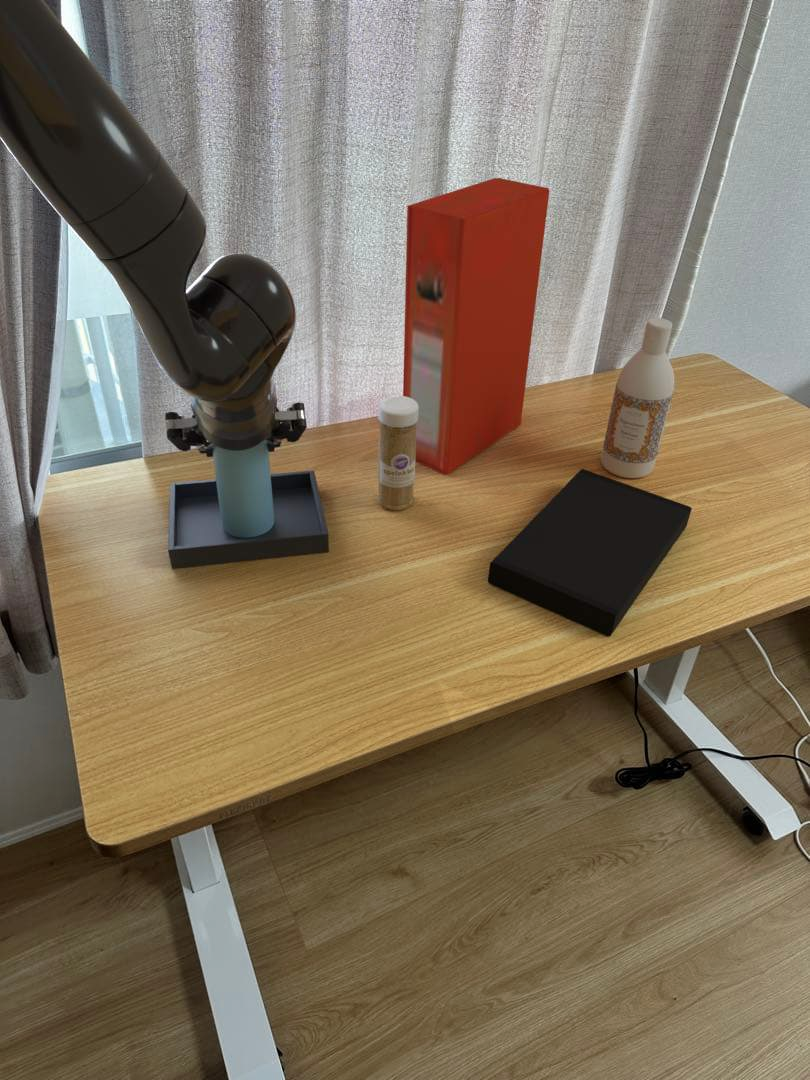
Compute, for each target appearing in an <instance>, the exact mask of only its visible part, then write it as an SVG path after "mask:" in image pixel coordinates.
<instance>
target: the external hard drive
mask: <svg viewBox="0 0 810 1080" xmlns="http://www.w3.org/2000/svg"><path fill="white" fill-rule="evenodd" d="M692 510H693V509H692V507H691V506H689V505H686V504H684V503H681V502H678V501H675V500H673V499H669V498H667V497H664V496H661V495H659V494H655V493H653V492H649V491H647V490H644V489H641V488H639V487H636V486H633V485H630V484H628V483H624V482H621V481H619V480H616V479H613V478H610V477H608V476H605V475H602V474H599V473H596V472H593V471H591V470H588V469H585V468H581V469H579V471H578V472H577V473H575V475H573V477H572V478H571V479H570V480H569V481H568V482H567V483H566V484H565V485H564V486H563V487H562V488H561V489H560V490H559V491H558V492H557V493H556V494H555V496H553V498H552V499H550V501H548V502H547V504H546V505H545V506H543V508H542V509H541V510H540V511H539V512H538V513H537V514H536V515H535V516H534V517H533V518H532V519H531V520H530V521H529V522H528V523H527V525H525V526H524V527H523V528H522V529H521V530H520V531H519V533H517V534H516V536H515V537H513V539H512V540H511V541H510V542H508V544H507V545H506V546H504V548H502V550H501V551H500V552H499V553H498V554H497V555H496V556H495V557H494V558H493V559H492V560H491V561H490V562H489V568H488V575H487V576H488V577H487V583H488V584H489V585H490V586H491V585H492V586H494V587H496V588H498V589H500V590H503V591H504V592H507V593H509V594H511V595H514V596H515V597H518V598H520V599H523V600H525V601H527V602H530V603H531V604H534V605H537V606H539V607H541V608H543V609H545V610H548V611H550V612H552V613H554V614H556V615H559V616H560V617H563V618H566V619H567V620H570V621H572V622H574V623H577V624H579V625H581V626H583V627H586V628H588V629H590V630H593V631H594V632H597V633H598V634H601V635H603V636H606V637H608V638H609V637H611V636H612V635H613V633H614V632H615V631H616V629H617V628H618V626H619V624H621V622H622V621H623V619H624V617H625V616H626V615H627V613H628V612H629V610H630V609H631V607H632V606H633V604H634V603H635V602H636V601H637V598H638V597H639V596H640V595H641V593H642V591H643V590H644V588H645V587H646V586H647V584H648V583H649V582H650V580H651V579H652V577H653V575H654V574H655V573H656V571H657V570H658V568H659V567H660V566H661V564H662V562H663V561H664V559H665V558H666V557H667V555H669V552H670V551H671V549H672V548H673V547H674V545H675V544H676V542H677V541H678V540H679V538H680V536H681V535H682V534H683V532H684V531H685V529H686V528H687V526H688V523H689V519H690V516H691V513H692Z"/></svg>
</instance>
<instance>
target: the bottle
mask: <svg viewBox="0 0 810 1080" xmlns="http://www.w3.org/2000/svg"><path fill="white" fill-rule="evenodd" d="M212 453H213V457H212V460H213V467H214V476H215V479H216V483H217V491H218V499H219V506H220V514H221V521H222V527H223V529H224V530H225V531H226V532H227V533H228V534H230V535H232V536H235V537H241V538H250V537H256V536H259V535H262V534H264V533H266V532H267V531H269V530H270V529H271V528H272V526H273V524H274V510H273V498H272V486H271V474H272V473H271V463H270V452H269V451H268V444H265V445H261V444H258V445H256V446H255V447H252V448H250V449H247V450H241V451H232V450H226V449H223V448H220V447H219V448H217V449H213V448H212Z"/></svg>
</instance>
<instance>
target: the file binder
mask: <svg viewBox="0 0 810 1080" xmlns="http://www.w3.org/2000/svg"><path fill="white" fill-rule="evenodd" d="M549 198H550V188H549V187H544V186H541V185H535V184H530V183H524V182H522V181H521V182H520V181H515V180H511V179H506V178H501V177H494V178H490V179H488V180H485V181H481V182H478V183H475V184H471V185H469V186H465V187H462V188H459V189H456V190H454V191H453V190H452V191H450V192H446V193H443V194H440V195H437V196H434V197H430V198H427V199H424V200H421V201H418V202H414V203H412V204H409V205H407V207H406V208H407V209H406V247H405V248H406V250H405V251H406V252H405V253H406V254H405V257H406V258H405V293H404V295H405V298H404V335H403V339H404V343H403V377H402V378H403V380H402V384H403V385H402V396H405V397H409V398H411V399H413V400H415V401H416V402H417V403H418V406H419V413H418V421H417V424H416V457H415V463H418V464H421V465H423V466H425V467H427V468H429V469H432V470H434V471H437V472H439V473H441V474H444V475H449V474H451V473H453V472H454V471H456V470H457V469H458V468H460V467H461V466H463V465H464V464H466V463H467V462H469V461H470V460H472V459H473V458H475V457H476V456H477V455H479V454H480V453H482V452H483V451H485V450H487V449H488V448H489V447H490V446H492V445H493V444H495V443H496V442H498V441H499V440H501V439H502V438H503V437H505V436H507V435H508V434H509V433H511V432H512V431H514V430H516V429H517V428H518V427H520V426H521V425H522V417H523V410H524V409H523V408H524V402H525V401H524V400H525V393H526V392H525V391H526V384H527V377H528V369H529V360H530V352H531V344H532V336H533V328H534V327H533V326H534V321H535V319H534V317H535V311H536V302H537V297H538V296H537V295H538V288H539V278H540V273H541V272H540V271H541V262H542V254H543V247H544V239H545V238H544V237H545V230H546V222H547V214H548V207H549Z"/></svg>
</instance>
